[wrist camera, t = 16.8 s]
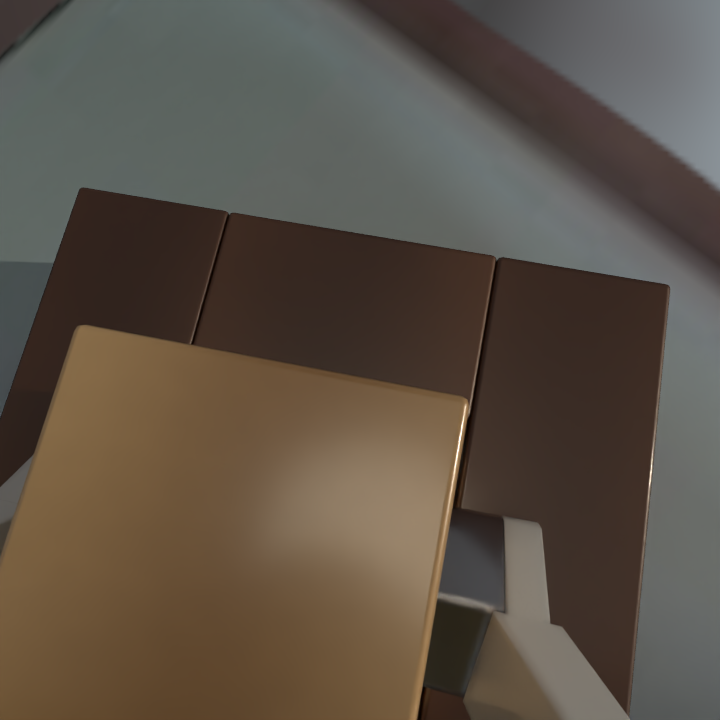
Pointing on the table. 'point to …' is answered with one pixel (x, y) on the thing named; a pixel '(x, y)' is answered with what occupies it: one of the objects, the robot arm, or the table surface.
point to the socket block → (403, 370)
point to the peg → (225, 539)
